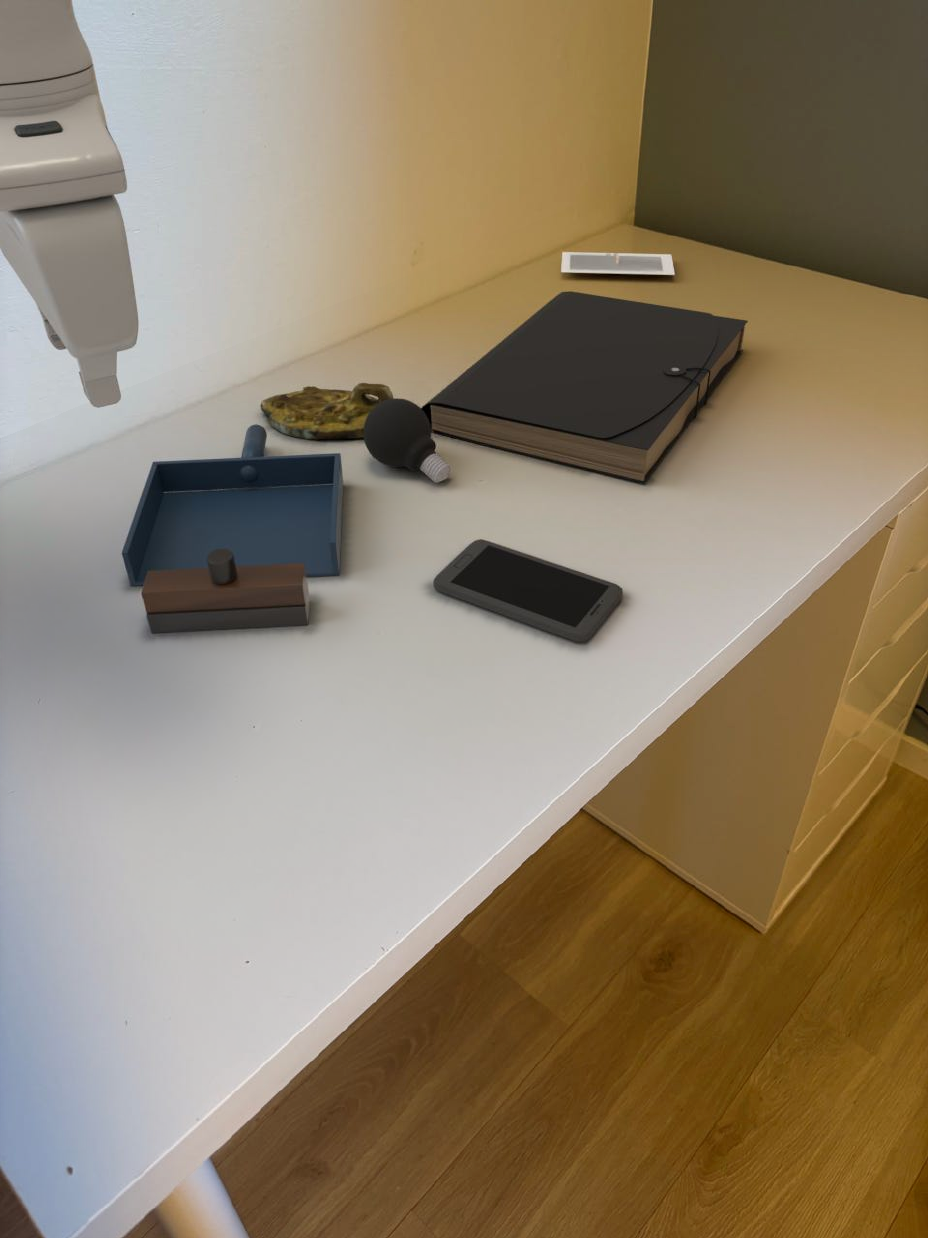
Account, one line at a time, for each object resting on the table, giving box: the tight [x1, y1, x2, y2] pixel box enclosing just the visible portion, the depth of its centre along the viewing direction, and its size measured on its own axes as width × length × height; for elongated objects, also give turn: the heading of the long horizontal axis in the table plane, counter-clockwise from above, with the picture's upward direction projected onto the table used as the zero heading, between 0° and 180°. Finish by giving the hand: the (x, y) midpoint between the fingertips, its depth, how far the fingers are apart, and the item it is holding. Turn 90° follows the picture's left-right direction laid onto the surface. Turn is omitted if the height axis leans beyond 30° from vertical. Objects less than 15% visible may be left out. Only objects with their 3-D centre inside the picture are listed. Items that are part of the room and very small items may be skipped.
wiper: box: [140, 549, 311, 634], centre depth 76 cm, size 3×12×6 cm, turn 94°
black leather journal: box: [420, 290, 749, 484], centre depth 107 cm, size 33×4×24 cm
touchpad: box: [560, 251, 676, 276], centre depth 135 cm, size 8×15×2 cm, turn 84°
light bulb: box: [363, 398, 451, 484], centre depth 94 cm, size 6×6×10 cm
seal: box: [259, 382, 394, 440], centre depth 102 cm, size 9×5×15 cm
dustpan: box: [121, 424, 344, 587], centre depth 89 cm, size 22×17×3 cm
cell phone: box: [432, 538, 624, 643], centre depth 79 cm, size 7×14×1 cm, turn 58°
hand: (84, 371), depth 62 cm, fingers open, 8 cm apart
